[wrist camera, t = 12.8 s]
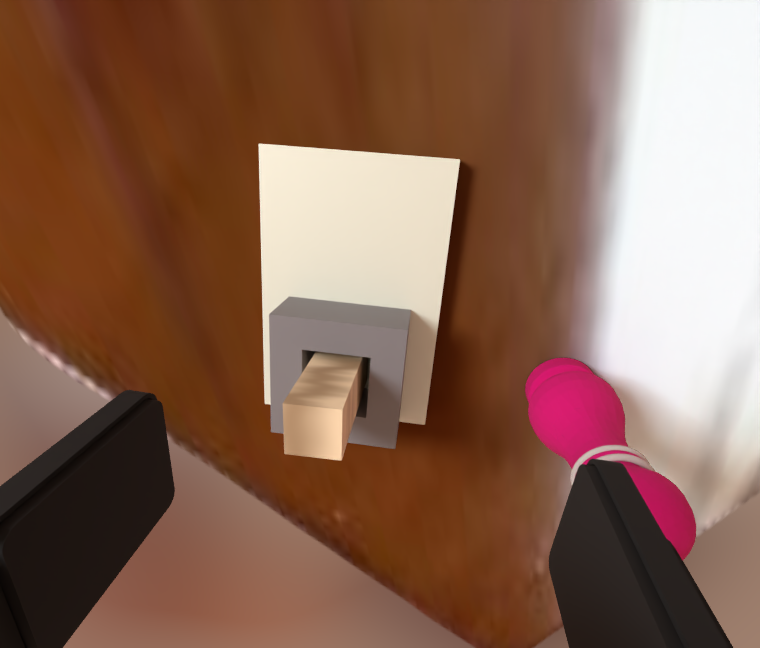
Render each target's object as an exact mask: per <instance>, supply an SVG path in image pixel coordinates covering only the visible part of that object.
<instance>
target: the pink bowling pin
mask: <svg viewBox="0 0 760 648" xmlns="http://www.w3.org/2000/svg"><path fill="white" fill-rule="evenodd" d="M525 392H526V397H527V400H528V402H529V410H528V413H529V420H530V423H531V425H532V428H533V430H534V431H535V433H536V435H537V436H538V438H539V439H540V440H541V441H542V442H543V443H544V444H545V445H546V446H547V447H548V448H549V449H550V450H552V451H553V452H555V453H556V454H558V455H559V456H561V457H563V458H565V460H566V461H567V462H568V463H569V465H570V467H571V468H572V472H571V484H572V485H573V482H574V479H575V476H576V473H577V470H578V468H579V466H580V465H581V464H586V465H587V463H588V461H589V460H590V459H600V460H607V461H614V462H620V463H622V464H623V465H624V466H625V468H626V469H627V471H628V473H629V475H630V476H631V478H632V480H633V481H634V483H635V485H636V487H637V488H638V490H639V492H640V494H641V495H642V497H643V499H644V501H645V502H646V504H647V506H648V508H649V509H650V511H651V513H652V515H653V516H654V518H655V520H656V522H657V523H658V525H659V527H660V529H661V530H662V532H663V534H664V535H665V537H666V539H668V540H669V541H670V542H671V543H672V545H673V546H674V547H675V549H676V550H677V552H678V554H679V555H680V557H681V559H682V560H683V559H685V557H686V556H687V555H688V554H689V552H690V551H691V549H692V547H693V545H694V542H695V537H696V523H695V518H694V514H693V511H692V509H691V507H690V505H689V503H688V502H687V500H686V498H685V496H684V495H683V493H682V492H681V491H680V490H679V489H678V487H677V486H676V485H675V484H673V483H672V482H671V481H670V480H668V479H667V478H666V477H664V476H662V475H661V474H659V473H657V472H655V470H654V469H653V468H652V466H651V465H650V464H649V462H648V461H647V459H646V458H645V457H644V456H643V455H642V454H641V453H639V452H638V451H636V450H634V449H632V448H630V447H628V445H627V443H626V440H625V415H624V411H623V407H622V404H621V402H620V399H619V398H618V396H617V394H616V393H615V391H614V389H613V388H612V387H611V386H610V385H609V384H608V383H607V382H606V381H604V380H603V379H602V378H600V377H598V376H596V375H594V374H593V372H592V371H591V370H590V369H589V368H588V367H587V366H586V365H585V364H583V363H582V362H580V361H578V360H575V359H571V358H555V359H551V360H548V361H546V362H544V363H542V364H540V365H539V366H538V367H536V368H535V369H534V370H533V372H532V373H531V374H530V376H529V377H528V379H527V382H526V387H525Z"/></svg>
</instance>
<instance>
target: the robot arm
mask: <svg viewBox="0 0 760 648" xmlns="http://www.w3.org/2000/svg"><path fill="white" fill-rule="evenodd" d="M174 491H175V490H174V482H173V476H172V468H171V461H170V454H169V447H168V440H167V433H166V426H165V419H164V412H163V406H162V403H161V402H160V401H157V398H156V397H155V395H154V394H151V393H145V392H139V391H132V390H127V391H124V392H122V393H121V394H119V395H118V396H117V397H116V398H114V399H113V400H112V401H110V402H109V403H108V404H106V405H105V406H104V407H103V408H101V409H100V410H99V411H98V412H96V413H95V414H94V415H92V416H91V417H90V418H88V419H87V420H86V421H84V422H83V423H82V424H81V425H79V426H78V427H77V428H75V429H74V430H73V431H71V432H70V433H69V434H68V435H66V436H65V437H64V438H62V439H61V440H60V441H59V442H57V443H56V444H55V445H53V446H52V447H51V448H50V449H48V450H47V451H46V452H44V453H43V454H42V455H40V456H39V457H38V458H36V459H35V460H34V461H32V463H30V464H29V465H27V466H26V467H25V468H23V469H22V470H21V471H19V472H18V473H17V474H16V475H14V476H13V477H12V478H10V479H9V480H8V481H6V482H5V483H4V484H3V485H1V486H0V648H63V646H64V645H65V644H66V642H67V641H68V640H69V639H70V637H71V636H72V635H73V633H74V632H75V630H76V629H77V628H78V627H79V625H80V624H81V623H82V621H83V620H84V619H85V617H86V616H87V615H88V613H89V612H90V611H91V609H92V608H93V607H94V605H95V604H96V603H97V602H98V600H99V599H100V597H101V596H102V595H103V594H104V592H105V591H106V590H107V588H108V587H109V586H110V584H111V583H112V582H113V580H114V579H115V578H116V576H117V575H118V574H119V572H120V571H121V570H122V568H123V567H124V566H125V565H126V563H127V562H128V560H129V559H130V558H131V557H132V555H133V554H134V552H135V551H136V550H137V549H138V547H139V546H140V545H141V543H142V542H143V541H144V539H145V538H146V537H147V535H148V534H149V533H150V531H151V530H152V529H153V527H154V526H155V525H156V523H157V522H158V521H159V519H160V518H161V517H162V516H163V514H164V513H165V512H166V510H167V509H168V508H169V506H170V504H171V502H172V500H173V497H174ZM549 569H550V574H551V578H552V582H553V586H554V590H555V594H556V598H557V602H558V606H559V609H560V613H561V617H562V621H563V625H564V629H565V633H566V637H567V641H568V644H569V648H733V646H732V645H731V643H730V641H729V640H728V638H727V636H726V634H725V633H724V631H723V629H722V627H721V626H720V624H719V622H718V621H717V619H716V617H715V615H714V614H713V612H712V610H711V609H710V607H709V605H708V603H707V602H706V600H705V598H704V596H703V595H702V593H701V591H700V590H699V588H698V586H697V584H696V583H695V581H694V579H693V578H692V576H691V574H690V572H689V571H688V569H687V567H686V566H685V564H684V562H683V560H682V559H681V557H680V555H679V554H678V552H677V550H676V549H675V547H674V546H673V545H672V543H671V542H670V541H669V540H668V539H666V537H665V535H664V534H663V532H662V530H661V529H660V527H659V525H658V523H657V522H656V520H655V518H654V516H653V515H652V513H651V511H650V509H649V508H648V506H647V504H646V502H645V501H644V499H643V497H642V495H641V494H640V492H639V490H638V488H637V487H636V485H635V483H634V481H633V480H632V478H631V476H630V475H629V473H628V471H627V469H626V468H625V466H624V465H623V464H622V463H620V462H614V461H607V460H600V459H590V460H589V461H588V463H587V465H586V464H581V465H580V466H579V468H578V470H577V473H576V476H575V479H574V482H573V485H572V488H571V491H570V494H569V497H568V500H567V503H566V506H565V509H564V512H563V515H562V518H561V521H560V524H559V527H558V530H557V533H556V536H555V539H554V542H553V545H552V548H551V551H550V555H549Z"/></svg>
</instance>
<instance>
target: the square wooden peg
mask: <svg viewBox="0 0 760 648" xmlns="http://www.w3.org/2000/svg"><path fill="white" fill-rule="evenodd" d="M367 375H368V357H360V356H351V355H343V354H335V353H326V352H318V351H316V352H315V354H314V355H313V357H312V358H311V360H310V361H309V363H308V365H307V366H306V368H305V369H304V371H303V372H302V374H301V376H300V377H299V379H298V380H297V382H296V383H295V385H294V386H293V388H292V390H291V391H290V393H289V394H288V396H287V397H286V399H285V400H284V402H283V427H284V454H290V455H299V456H307V457H315V458H324V459H332V460H342V457H343V454H344V451H345V448H346V445H347V442H348V438H349V435H350V432H351V429H352V426H353V423H354V419H355V416H356V413H357V410H358V407H359V404H360V400H361V397H362V394H363V391H364V388H365V385H366V381H367Z"/></svg>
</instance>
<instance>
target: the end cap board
mask: <svg viewBox="0 0 760 648" xmlns="http://www.w3.org/2000/svg"><path fill="white" fill-rule="evenodd" d="M459 164H460V159H447V158H435V157H422V156H409V155H397V154H384V153H371V152H359V151H346V150H333V149H320V148H308V147H295V146H282V145H270V144H259V178H260V221H261V263H262V305H263V347H264V390H265V404H271V432H275V433H283V434H284V427H283V402H284V400H285V399H286V397H287V396H288V394H289V393H290V391H291V390H292V388H293V386H294V385H295V383H296V382H297V380H298V379H299V377H300V376H301V374H302V372H303V371H304V369H305V368H306V366H307V365H308V363H309V361H310V360H311V358H312V357H313V355H314V354H315V352H316V351H318V352H326V353H335V354H343V355H351V356H360V357H368V375H367V381H366V385H365V388H364V391H363V394H362V397H361V400H360V404H359V407H358V410H357V413H356V416H355V419H354V423H353V426H352V429H351V432H350V435H349V438H348V443H355V444H362V445H370V446H377V447H384V448H391V449H395V447H396V440H397V433H398V426H399V422H406V423H414V424H422V425H425V421H426V413H427V406H428V398H429V391H430V383H431V375H432V368H433V360H434V353H435V345H436V338H437V330H438V323H439V315H440V308H441V300H442V292H443V285H444V277H445V270H446V262H447V255H448V247H449V240H450V232H451V224H452V217H453V209H454V202H455V194H456V187H457V179H458V172H459Z"/></svg>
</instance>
